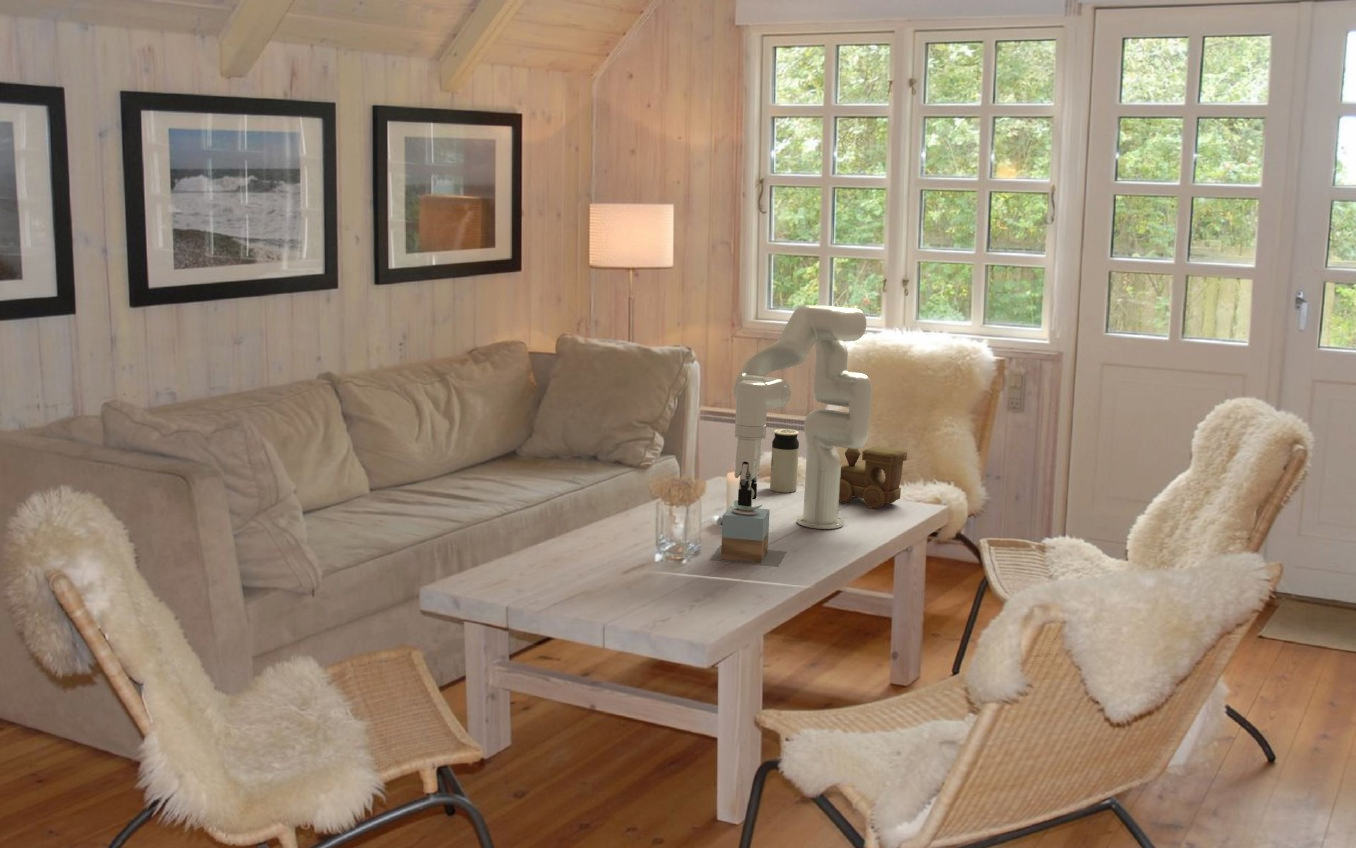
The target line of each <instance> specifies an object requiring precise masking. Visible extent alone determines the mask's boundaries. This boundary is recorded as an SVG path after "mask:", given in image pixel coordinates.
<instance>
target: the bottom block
mask: <svg viewBox="0 0 1356 848" xmlns="http://www.w3.org/2000/svg"><path fill="white" fill-rule="evenodd" d="M769 531H770V530H769ZM769 531H768V533H767V534H766V536H765V537H764V539H763V540H762V541H759V540H748V539H737V538H726V537H722V536H721V559H728V560H739V561H749V562H760V563H761V562H762V560H763V559H764V557H765V556H766V554H767V552H768V550H769V549H768V547H769V534H770V533H769Z"/></svg>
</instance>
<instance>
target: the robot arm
mask: <svg viewBox="0 0 1356 848" xmlns="http://www.w3.org/2000/svg"><path fill="white" fill-rule="evenodd" d="M866 329H867V317H866V315H865V313H864V311H862V310H861V309H859V308H857V307H845V306H844V307H843V306H834V305H823V304H804V305H800V306H798V307H797V308H796V309H795V310H794V311H793V313H792V314H791V316H790V318H789V320H788V321H787V323H786V325H785V327H784V328H783V330H782V331H781V333H780V335H779V337H778V338H777V341H776V342H775V343H773V344H771V345H769V346H767V347H765V348H763V349H761V350H760V351H758V352H757V353H755V354H753V355H752V356H751V357H750V358H748V359H747V361H746V362H745V363H744V365H743V366H742V368H741V369H740V371H739V373H738V375H737V377H736V379H735V382H734V385H733V395H734V399H735V401H736V402H735V421H734V422H735V423H734V438H736V439H737V443H736V451H735V464H734V476H733V477H734V478H735V479H738V478H739V484H738V489H737V490H738V492H737V500H738V505H739V506H751V496H752V490H751V488H752V489H753V490H754V497H753V498H752V500H756V499H757V493H758V492H757V491H758V490H757V489H758V483H757V481H758V480H757V479H758V474H759V472H760V469H761V455H762V454H761V453H762V452H761V451H762V450H761V449H762V446H761V445H762V440H764V439H766V437H767V436H766V435H767V414H768V409H780V408H783V407H785V406H786V405H787V404H788V403H789V402H790V400H791V397H792V388H791V385H790V384H789V382H787V381H786V380H785V379H782V378H779V377H778V378H777V377H771V376H766V375H769V374H770V373H773V372H776V371H781V370H785V369H789V368H793V367H795V366H799V365H800V364H803V363H804V361H805V360H806V358H807V357H808V355H809V353H810V351H811V349H812V348H813V346H814V348H815V364H814V365H815V367H814V377H813V378H814V379H813V398H814V400H815V401H816V402H818V403H820V404H823V405H829V406H837V407H842V408H848V410H849V412H847V411H841V410H836V409H835V410H834V409H825V408H818V409H814V410H812V411H810V412H809V413H807V415H806V417H805V419H804V423H803V424H804V427H803V428H804V437H805V447H806V451H805V452H806V454H805V455H806V456H805V459H806V460H805V479H804V498H803V515H799V516H798V517H797V518H796V519H797V520H796V523H798V524H799V525H800V526H802V527H806V528H808V529H810V528H811V529H819V530H820V529H821V530H833V529H839V528H841V527H843V526H844V523H845V522H844V519H842V518H841V517H839V510H840V509H839V508H840V505H839V504H840V502H839V493H840V476H841V467H842V459H841V456H840V454H839V451H838V449H837V448H836V447H838V448H843V449H848V448H850V449H858V450H859V449H862V448H863V447H864V446H865V445H866V443H867V441H868V438H869V433H870V424H871V414H872V402H873V385H872V381H871V379H870V377H869V376H867V375H866V374H864V373H861V372H854V371H848V358H849V351H848V347H847V345H846V342H855V341H858V340H860V339H861V338H862V337H863V336H864V334H865V332H866Z"/></svg>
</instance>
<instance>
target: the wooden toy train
mask: <svg viewBox="0 0 1356 848" xmlns="http://www.w3.org/2000/svg"><path fill="white" fill-rule="evenodd" d="M844 455H845V456H844V457H845V458H846V462H847V464H845V465H841V476H840V493H839V504H840V503H841V504H847V503H849V501H851V499H852V498H854V499H855V498H856V499H858V498H859V499H862V500H863V503H864V504H865V505H866V506H867V507H868V508H870V509H874V510H878V509H879V508H881V507H883V506H884V504H889V505H890V504H893V503H895V502H896V501H898V500H900V499H901V493H902V492H901V490H902V488H901V487H900V486H901V485H900V484H901V479H902V475H903V464H904V462H905V461H907V460H908V459H907V458H908V451H907V450H903V449H900V448H892V447H885V446H872V447H869V448H867V449H864V450H863V451H862V456H861V452H860V451H859V449H850V448H846V450H845V452H844ZM860 457H861V458H862V459H861V460H862V461H863V462H864V461H865V464H864V465H856V464H857V461H858V460H859V458H860ZM882 472H883V473H882ZM883 474H884V476H883ZM884 477H885V478H884Z"/></svg>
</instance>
